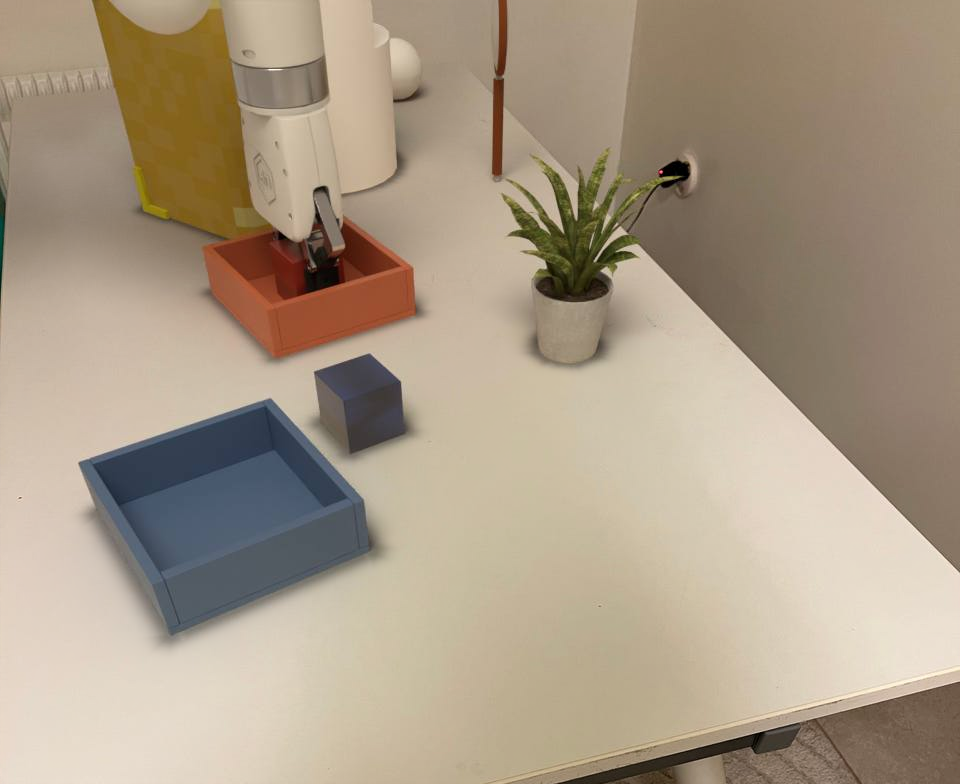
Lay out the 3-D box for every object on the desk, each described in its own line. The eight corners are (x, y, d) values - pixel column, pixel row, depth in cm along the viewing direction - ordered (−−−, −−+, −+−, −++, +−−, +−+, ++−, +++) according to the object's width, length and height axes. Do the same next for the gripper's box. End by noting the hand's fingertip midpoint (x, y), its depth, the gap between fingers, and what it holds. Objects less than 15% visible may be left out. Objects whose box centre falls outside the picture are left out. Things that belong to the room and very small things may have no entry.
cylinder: (339, 208, 102) (305, -109, 82) (225, 176, 108) (166, -127, 88) (424, 160, 112) (414, -134, 92) (315, 133, 118) (282, -148, 98)
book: (143, 212, 101) (70, -66, 83) (188, 193, 105) (127, -78, 87) (252, 251, 95) (199, -41, 76) (296, 229, 99) (255, -55, 80)
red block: (300, 315, 84) (292, 262, 81) (277, 293, 87) (268, 242, 83) (347, 301, 86) (342, 249, 82) (323, 280, 89) (317, 229, 85)
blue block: (350, 456, 71) (343, 401, 67) (321, 425, 74) (313, 371, 70) (405, 435, 73) (401, 381, 69) (374, 406, 76) (369, 352, 72)
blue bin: (171, 638, 58) (151, 584, 54) (98, 515, 66) (77, 461, 62) (370, 553, 63) (364, 499, 60) (280, 449, 71) (270, 397, 68)
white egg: (423, 90, 130) (421, 30, 125) (422, 107, 125) (420, 46, 120) (354, 90, 130) (349, 30, 124) (350, 108, 125) (345, 46, 119)
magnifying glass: (506, 197, 105) (512, -11, 90) (492, 197, 105) (495, -10, 90) (501, 168, 111) (505, -31, 96) (487, 168, 110) (489, -31, 96)
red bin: (276, 360, 80) (266, 310, 77) (212, 295, 88) (201, 246, 85) (416, 316, 86) (413, 267, 82) (343, 258, 94) (338, 211, 90)
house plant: (628, 301, 88) (652, 117, 76) (678, 376, 79) (715, 180, 67) (486, 316, 86) (487, 129, 74) (521, 394, 77) (529, 196, 65)
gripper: (197, 61, 76) (239, 271, 90) (285, 120, 67) (317, 344, 80) (278, 47, 79) (307, 252, 93) (373, 101, 70) (390, 321, 83)
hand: (311, 293), depth 86 cm, fingers closed on red block, 5 cm apart
